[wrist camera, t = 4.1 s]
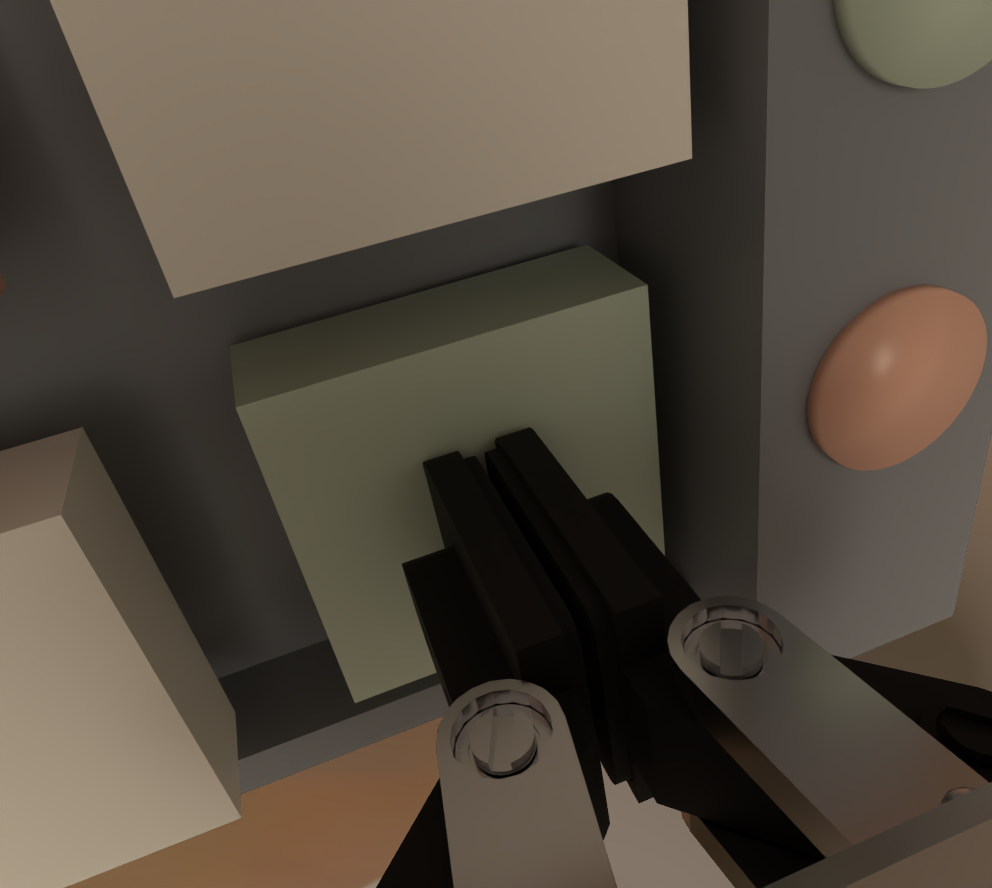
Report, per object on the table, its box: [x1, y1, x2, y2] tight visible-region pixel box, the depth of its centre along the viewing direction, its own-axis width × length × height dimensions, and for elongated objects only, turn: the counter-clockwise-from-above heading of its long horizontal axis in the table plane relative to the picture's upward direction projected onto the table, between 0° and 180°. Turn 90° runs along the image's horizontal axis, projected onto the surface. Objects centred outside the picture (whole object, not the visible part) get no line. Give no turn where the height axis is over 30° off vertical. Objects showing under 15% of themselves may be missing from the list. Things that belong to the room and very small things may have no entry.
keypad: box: [0, 0, 992, 795], centre depth 11 cm, size 16×19×7 cm
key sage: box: [229, 245, 665, 703], centre depth 13 cm, size 6×6×2 cm
